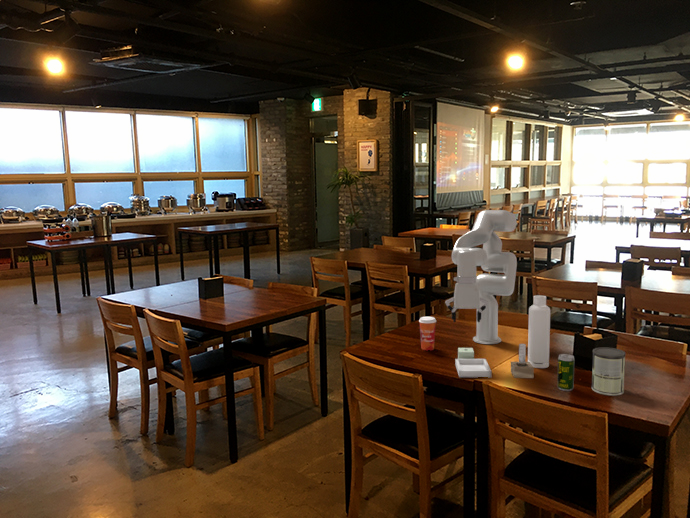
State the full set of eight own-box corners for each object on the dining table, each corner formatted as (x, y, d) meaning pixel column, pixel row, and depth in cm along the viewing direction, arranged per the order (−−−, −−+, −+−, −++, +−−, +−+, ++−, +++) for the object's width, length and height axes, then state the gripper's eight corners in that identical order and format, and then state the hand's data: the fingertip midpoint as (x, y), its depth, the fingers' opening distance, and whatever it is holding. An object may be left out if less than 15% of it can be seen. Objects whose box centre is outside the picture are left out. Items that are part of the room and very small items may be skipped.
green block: (458, 359, 231) (458, 347, 230) (472, 359, 230) (472, 347, 229) (458, 363, 225) (459, 351, 224) (473, 364, 224) (474, 352, 223)
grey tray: (455, 364, 223) (455, 358, 223) (485, 364, 222) (485, 358, 222) (459, 377, 209) (459, 370, 208) (491, 377, 207) (491, 371, 207)
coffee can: (586, 385, 197) (587, 347, 195) (614, 384, 198) (615, 346, 196) (600, 396, 187) (601, 356, 185) (629, 395, 187) (631, 355, 185)
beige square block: (510, 371, 213) (510, 361, 213) (529, 371, 213) (529, 361, 212) (514, 377, 207) (514, 367, 206) (533, 378, 206) (533, 367, 205)
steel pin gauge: (517, 373, 211) (518, 343, 209) (524, 373, 211) (524, 343, 209) (519, 375, 209) (519, 345, 207) (525, 375, 208) (526, 345, 207)
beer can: (560, 384, 198) (561, 352, 197) (575, 388, 195) (576, 355, 193) (554, 389, 194) (555, 356, 193) (570, 392, 191) (571, 359, 189)
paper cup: (417, 350, 244) (416, 319, 242) (421, 345, 251) (421, 315, 249) (434, 352, 241) (434, 320, 239) (438, 347, 248) (438, 316, 246)
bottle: (523, 363, 223) (524, 295, 219) (538, 360, 226) (540, 293, 222) (537, 369, 215) (539, 299, 212) (553, 366, 218) (555, 297, 215)
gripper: (446, 281, 220) (445, 323, 222) (490, 281, 218) (489, 323, 220) (444, 278, 227) (444, 319, 229) (487, 278, 226) (486, 319, 228)
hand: (466, 321), depth 225 cm, fingers open, 9 cm apart
